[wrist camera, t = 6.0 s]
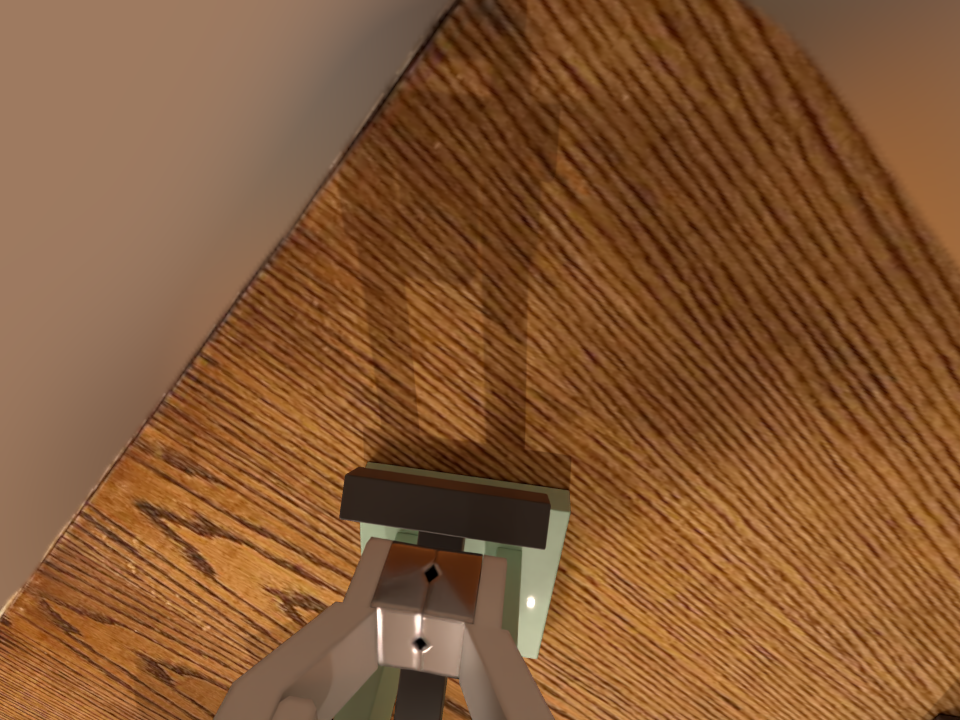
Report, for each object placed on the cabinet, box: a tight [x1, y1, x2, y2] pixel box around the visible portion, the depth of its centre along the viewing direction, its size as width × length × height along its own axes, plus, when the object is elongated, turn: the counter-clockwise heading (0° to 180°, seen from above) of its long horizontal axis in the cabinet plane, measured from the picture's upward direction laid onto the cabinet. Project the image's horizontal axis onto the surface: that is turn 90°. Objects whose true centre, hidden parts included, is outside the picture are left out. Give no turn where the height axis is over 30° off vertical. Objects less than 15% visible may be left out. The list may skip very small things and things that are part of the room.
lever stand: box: [333, 462, 571, 720], centre depth 16 cm, size 9×8×13 cm
